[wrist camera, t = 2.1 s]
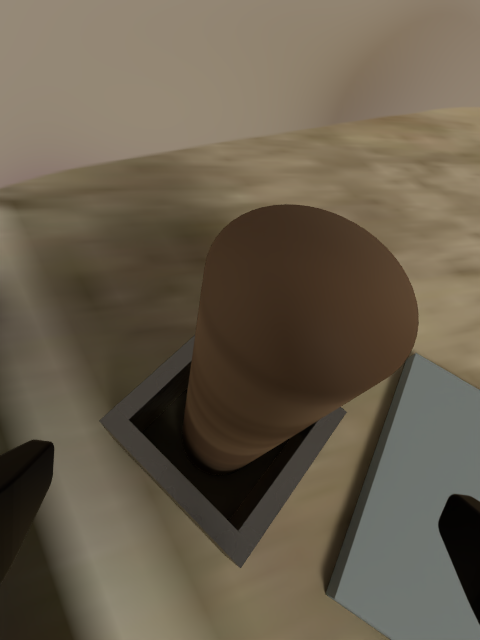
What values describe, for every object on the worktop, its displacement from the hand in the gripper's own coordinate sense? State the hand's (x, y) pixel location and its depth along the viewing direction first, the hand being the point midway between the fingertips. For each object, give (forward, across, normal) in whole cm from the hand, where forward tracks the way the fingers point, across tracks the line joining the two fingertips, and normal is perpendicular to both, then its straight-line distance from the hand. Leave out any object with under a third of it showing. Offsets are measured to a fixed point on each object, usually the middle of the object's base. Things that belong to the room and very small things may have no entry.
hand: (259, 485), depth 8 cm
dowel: (+10, 0, +5) cm, 11 cm away
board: (+8, -14, +7) cm, 18 cm away
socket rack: (+10, 0, +5) cm, 11 cm away
